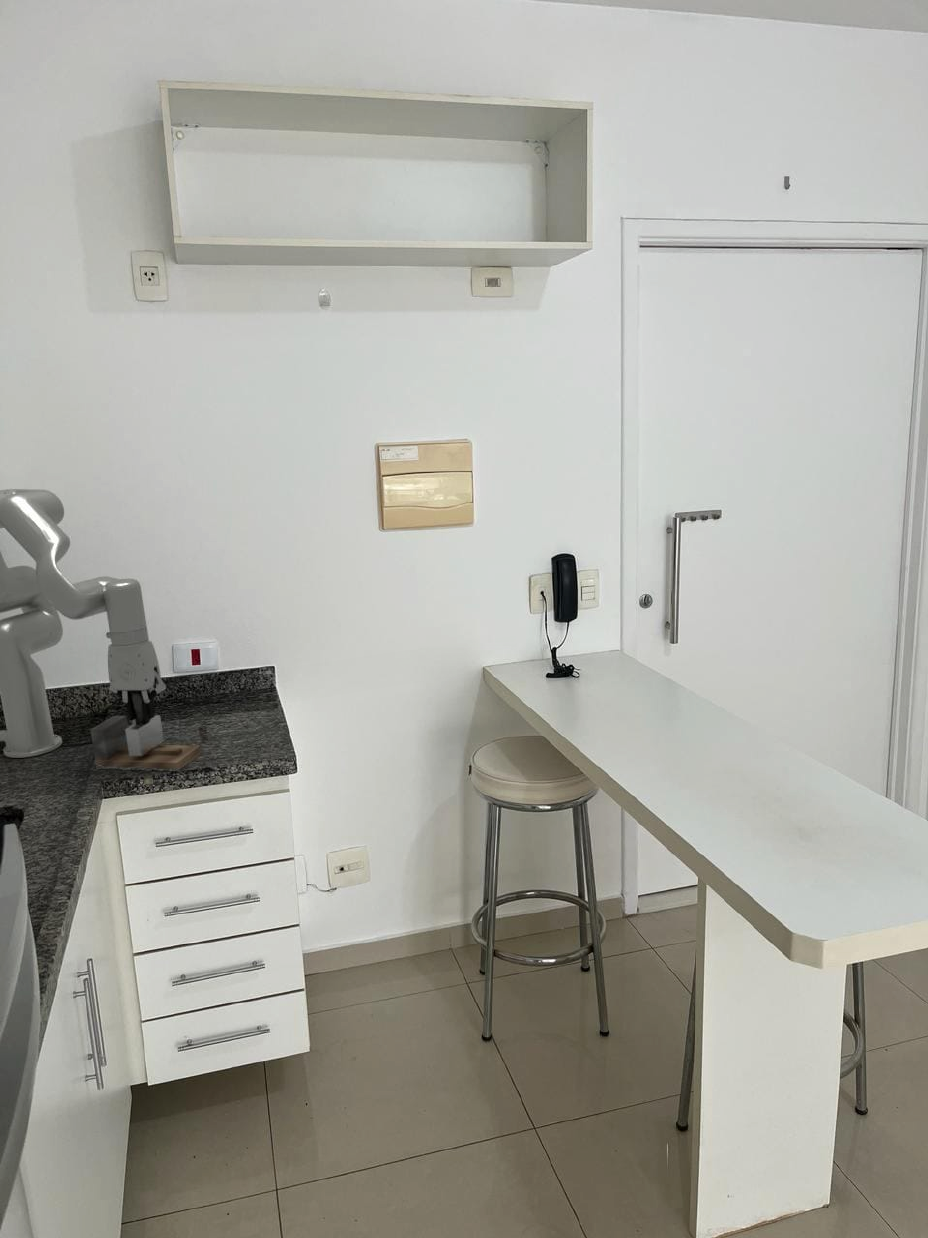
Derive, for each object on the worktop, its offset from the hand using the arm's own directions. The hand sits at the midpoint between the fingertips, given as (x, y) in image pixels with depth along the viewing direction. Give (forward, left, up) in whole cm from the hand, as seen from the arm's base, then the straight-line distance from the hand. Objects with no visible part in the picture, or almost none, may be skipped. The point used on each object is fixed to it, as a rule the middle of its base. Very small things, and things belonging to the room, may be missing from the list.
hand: (142, 717), depth 204 cm
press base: (0, 0, -10) cm, 10 cm away
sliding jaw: (0, 0, -7) cm, 7 cm away
